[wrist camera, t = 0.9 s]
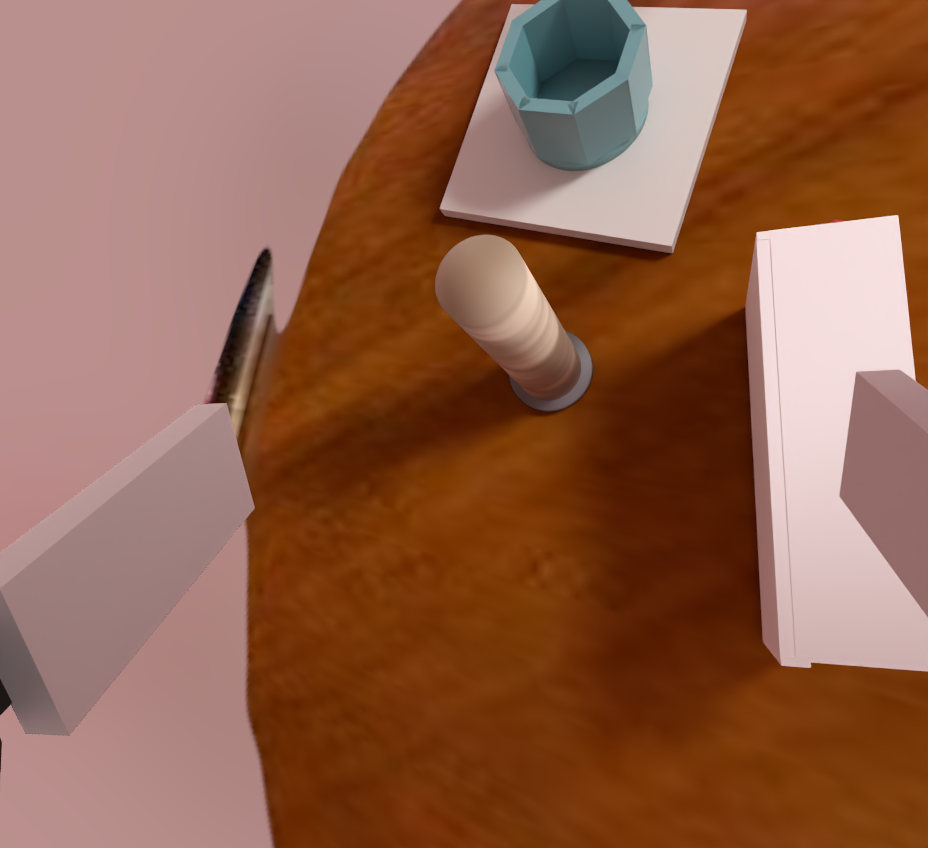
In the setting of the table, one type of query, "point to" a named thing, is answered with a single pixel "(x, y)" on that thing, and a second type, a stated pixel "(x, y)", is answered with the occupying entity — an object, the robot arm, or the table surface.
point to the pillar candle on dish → (513, 322)
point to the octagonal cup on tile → (595, 120)
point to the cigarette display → (824, 441)
